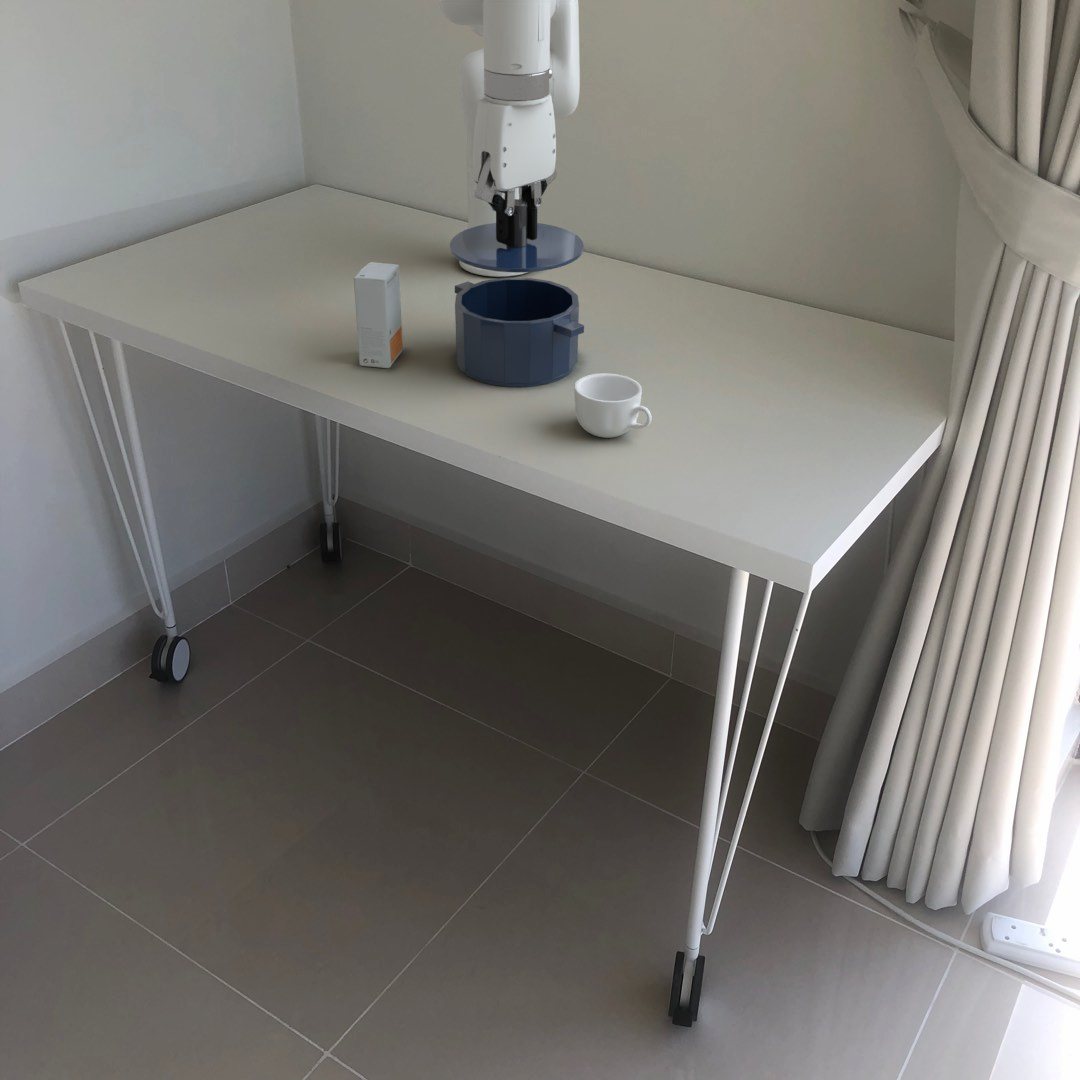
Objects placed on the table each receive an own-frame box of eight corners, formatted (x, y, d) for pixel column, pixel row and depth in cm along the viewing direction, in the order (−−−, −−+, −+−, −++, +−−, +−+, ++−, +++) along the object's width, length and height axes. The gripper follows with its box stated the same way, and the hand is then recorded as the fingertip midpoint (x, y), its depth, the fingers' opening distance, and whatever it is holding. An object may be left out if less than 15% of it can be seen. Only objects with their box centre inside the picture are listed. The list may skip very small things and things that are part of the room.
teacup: (559, 430, 136) (560, 388, 133) (598, 408, 141) (600, 367, 138) (629, 457, 131) (632, 414, 128) (667, 433, 136) (671, 391, 133)
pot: (503, 322, 163) (503, 264, 159) (616, 367, 151) (619, 305, 147) (419, 354, 154) (415, 293, 149) (532, 405, 142) (533, 340, 137)
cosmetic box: (390, 369, 150) (385, 280, 143) (359, 366, 151) (351, 277, 144) (404, 350, 155) (399, 263, 148) (373, 347, 156) (367, 260, 149)
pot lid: (516, 221, 155) (516, 173, 151) (611, 253, 145) (613, 203, 142) (422, 251, 145) (419, 201, 141) (516, 288, 135) (516, 235, 132)
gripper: (542, 68, 141) (540, 218, 151) (442, 90, 131) (447, 249, 142) (588, 79, 137) (583, 232, 147) (488, 102, 127) (490, 265, 137)
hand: (516, 239), depth 144 cm, fingers closed on pot lid, 2 cm apart
